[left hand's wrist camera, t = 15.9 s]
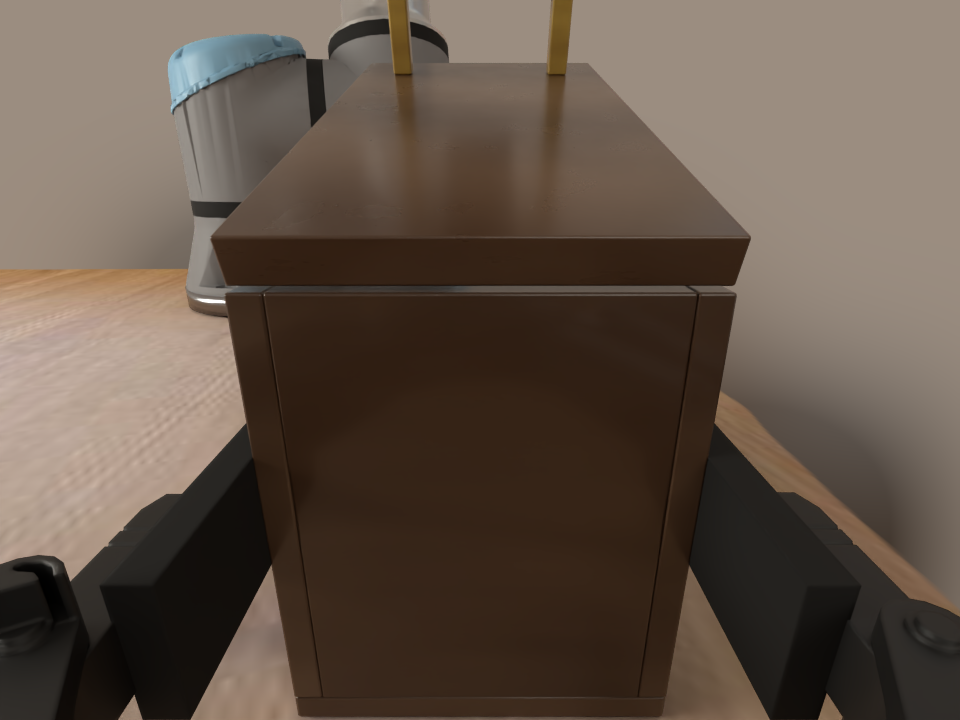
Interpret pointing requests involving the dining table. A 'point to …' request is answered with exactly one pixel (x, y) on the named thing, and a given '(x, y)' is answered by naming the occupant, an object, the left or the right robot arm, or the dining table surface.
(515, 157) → the lid
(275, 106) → the right robot arm
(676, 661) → the dining table surface
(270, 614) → the dining table surface
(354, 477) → the chest
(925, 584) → the dining table surface
